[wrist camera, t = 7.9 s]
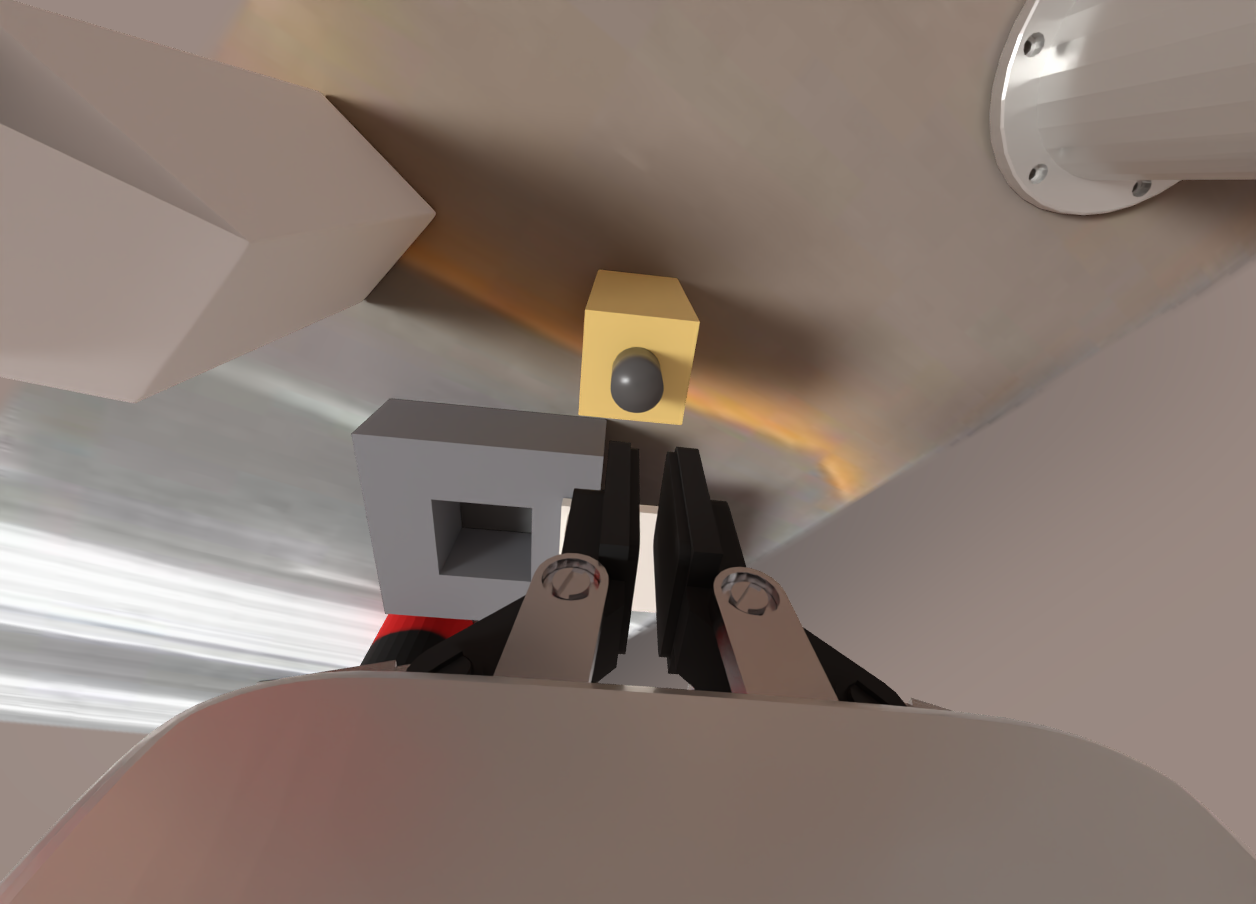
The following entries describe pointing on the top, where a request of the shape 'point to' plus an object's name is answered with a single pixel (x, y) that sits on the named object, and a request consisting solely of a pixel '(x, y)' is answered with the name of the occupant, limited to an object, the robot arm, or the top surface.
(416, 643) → the soda can
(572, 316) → the top surface
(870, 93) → the top surface
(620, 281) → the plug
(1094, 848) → the robot arm
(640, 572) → the plate
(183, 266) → the milk carton
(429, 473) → the socket housing
